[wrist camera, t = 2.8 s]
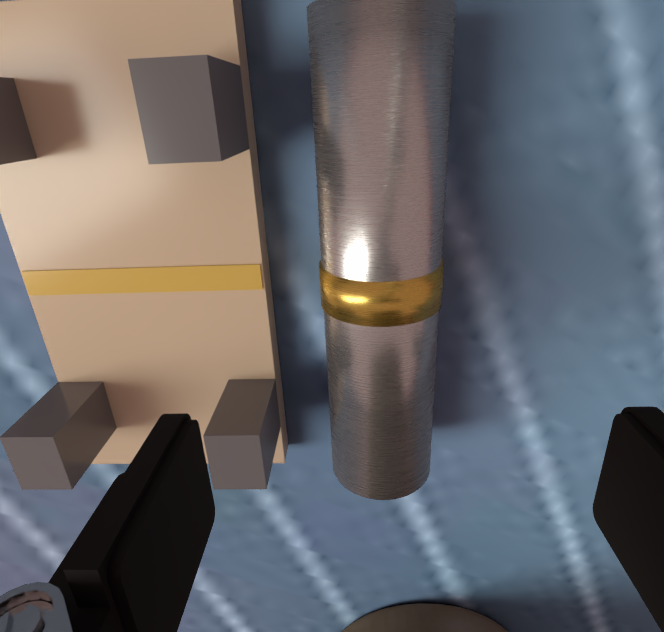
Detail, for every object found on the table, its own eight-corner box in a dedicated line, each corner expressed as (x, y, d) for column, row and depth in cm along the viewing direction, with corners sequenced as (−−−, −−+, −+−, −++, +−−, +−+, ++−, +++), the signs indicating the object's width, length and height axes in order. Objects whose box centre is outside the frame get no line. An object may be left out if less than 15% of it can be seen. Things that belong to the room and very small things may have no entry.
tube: (311, 21, 18) (294, -7, 14) (445, 13, 18) (475, -19, 13) (333, 430, 27) (327, 501, 22) (425, 430, 26) (439, 502, 21)
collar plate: (240, -5, 18) (192, -51, 13) (288, 444, 27) (272, 529, 22) (-40, 13, 19) (-198, -24, 13) (99, 446, 28) (38, 528, 22)
